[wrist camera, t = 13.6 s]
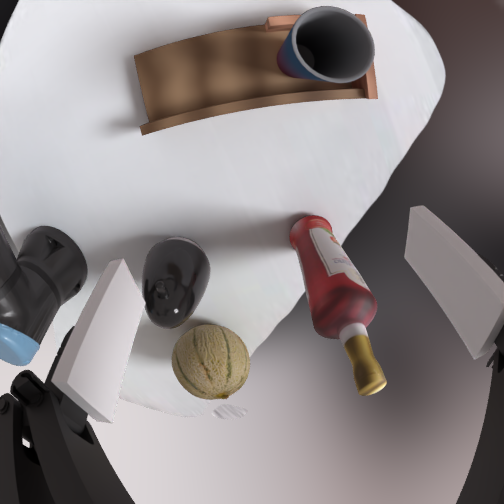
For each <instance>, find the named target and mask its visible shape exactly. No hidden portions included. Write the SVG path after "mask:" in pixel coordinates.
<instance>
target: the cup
mask: <svg viewBox="0 0 504 504" xmlns="http://www.w3.org/2000/svg"><path fill="white" fill-rule="evenodd" d="M374 55H375V46H374V42H373V38H372V36H371V34H370V32H369V30H368V28H367V27H366V25H365V24H364V23H363V22H362V21H361V20H360V19H359V18H357V17H356V16H355V15H354V14H352V13H350V12H348V11H346V10H344V9H341V8H338V7H332V6H320V7H315V8H312V9H310V10H308V11H306V12H305V13H303V14H302V15H301V16H300V17H299V18H298V19H297V20H296V22H295V24H294V25H293V27H292V29H291V30H290V32H289V34H288V36H287V37H286V39H285V41H284V42H283V44H282V46H281V48H280V50H279V51H278V54H277V65H278V67H279V69H280V70H281V71H282V72H283V73H284V74H286V75H287V76H289V77H292V78H300V79H309V80H318V81H326V82H333V83H348V82H351V81H355V80H357V79H359V78H360V77H362V76H363V75H364V74H365V73H366V72H367V71H368V70H369V68H370V67H371V65H372V63H373V60H374Z"/></svg>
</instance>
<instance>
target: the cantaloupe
mask: <svg viewBox="0 0 504 504" xmlns="http://www.w3.org/2000/svg"><path fill="white" fill-rule="evenodd" d="M172 367H173V371H174V373H175V375H176V377H177V379H178V381H179V382H180V384H181V385H182V386H183V387H184V388H185V389H186V390H187V391H188V392H190V393H191V394H192V395H194V396H196V397H199V398H203V399H209V400H212V399H227V398H228V397H229V396H230V395H232V394H233V393H235V392H236V391H237V390H239V389H240V388H241V387H242V386H243V384H244V383H245V381H246V379H247V377H248V373H249V369H250V358H249V354H248V351H247V348H246V346H245V344H244V342H243V341H242V340H241V338H240V337H239V336H238V335H237V334H235V333H234V332H233V331H231V330H230V329H228V328H226V327H222V326H218V325H200V326H197V327H194V328H192V329H190V330H189V331H188V332H186V333H185V334H184V335H183V336H182V337H180V338H179V340H178V341H177V343H176V344H175V347H174V349H173V354H172Z"/></svg>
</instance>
